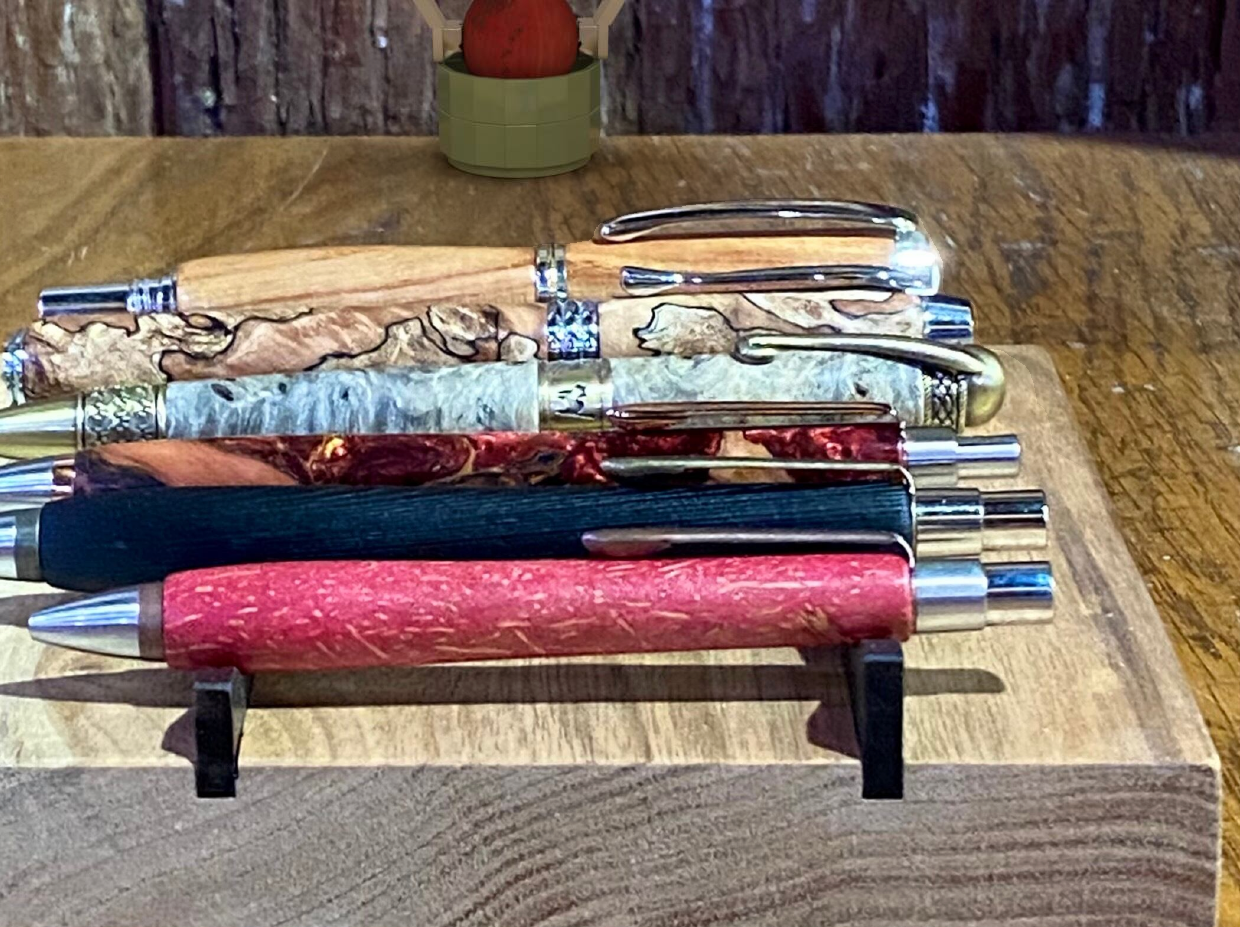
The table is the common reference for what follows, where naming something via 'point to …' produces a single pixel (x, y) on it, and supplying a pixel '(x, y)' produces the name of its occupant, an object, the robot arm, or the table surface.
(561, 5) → the onion
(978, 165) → the table surface
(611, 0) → the robot arm
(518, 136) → the bowl
